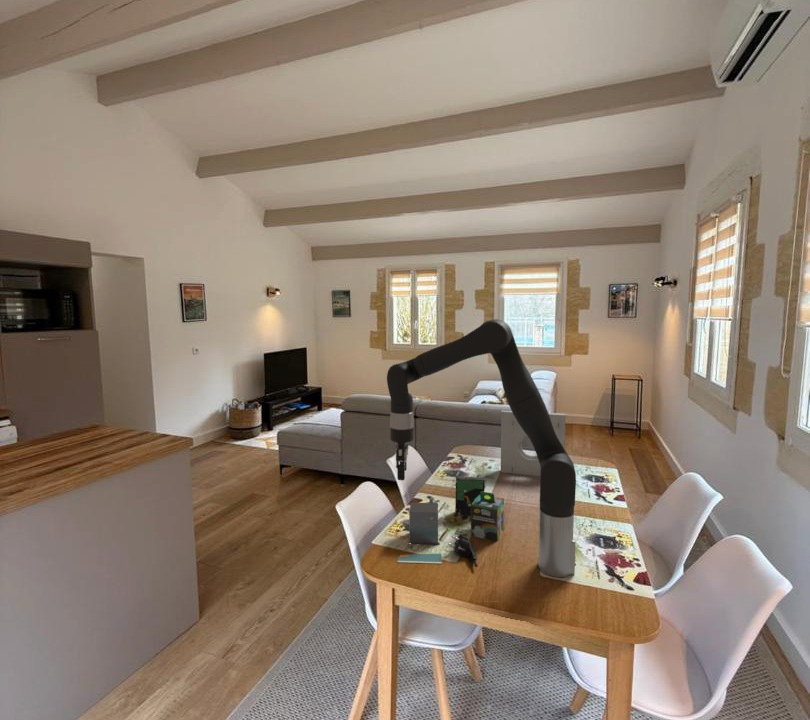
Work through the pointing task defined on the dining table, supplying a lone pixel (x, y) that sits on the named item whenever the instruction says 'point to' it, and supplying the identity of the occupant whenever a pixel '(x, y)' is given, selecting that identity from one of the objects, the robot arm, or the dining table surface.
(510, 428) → the mounting panel
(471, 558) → the power plug
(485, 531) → the chalk box
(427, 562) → the mat
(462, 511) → the disk drive
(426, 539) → the unit
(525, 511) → the dining table surface
